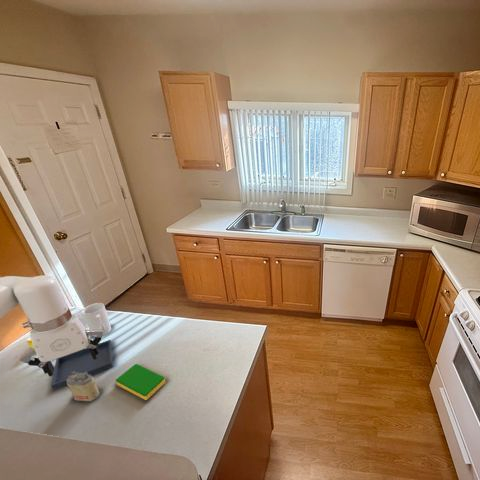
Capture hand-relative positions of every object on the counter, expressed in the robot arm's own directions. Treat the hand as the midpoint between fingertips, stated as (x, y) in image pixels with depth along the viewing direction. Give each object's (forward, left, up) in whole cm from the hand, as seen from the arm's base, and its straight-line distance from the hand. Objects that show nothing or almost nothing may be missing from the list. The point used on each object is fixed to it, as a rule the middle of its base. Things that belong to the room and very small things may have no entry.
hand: (74, 364), depth 75 cm
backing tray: (-1, +15, -14) cm, 21 cm away
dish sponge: (+14, -5, -14) cm, 20 cm away
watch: (-15, +33, -14) cm, 39 cm away
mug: (+4, +30, -14) cm, 33 cm away
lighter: (0, 0, -14) cm, 14 cm away
